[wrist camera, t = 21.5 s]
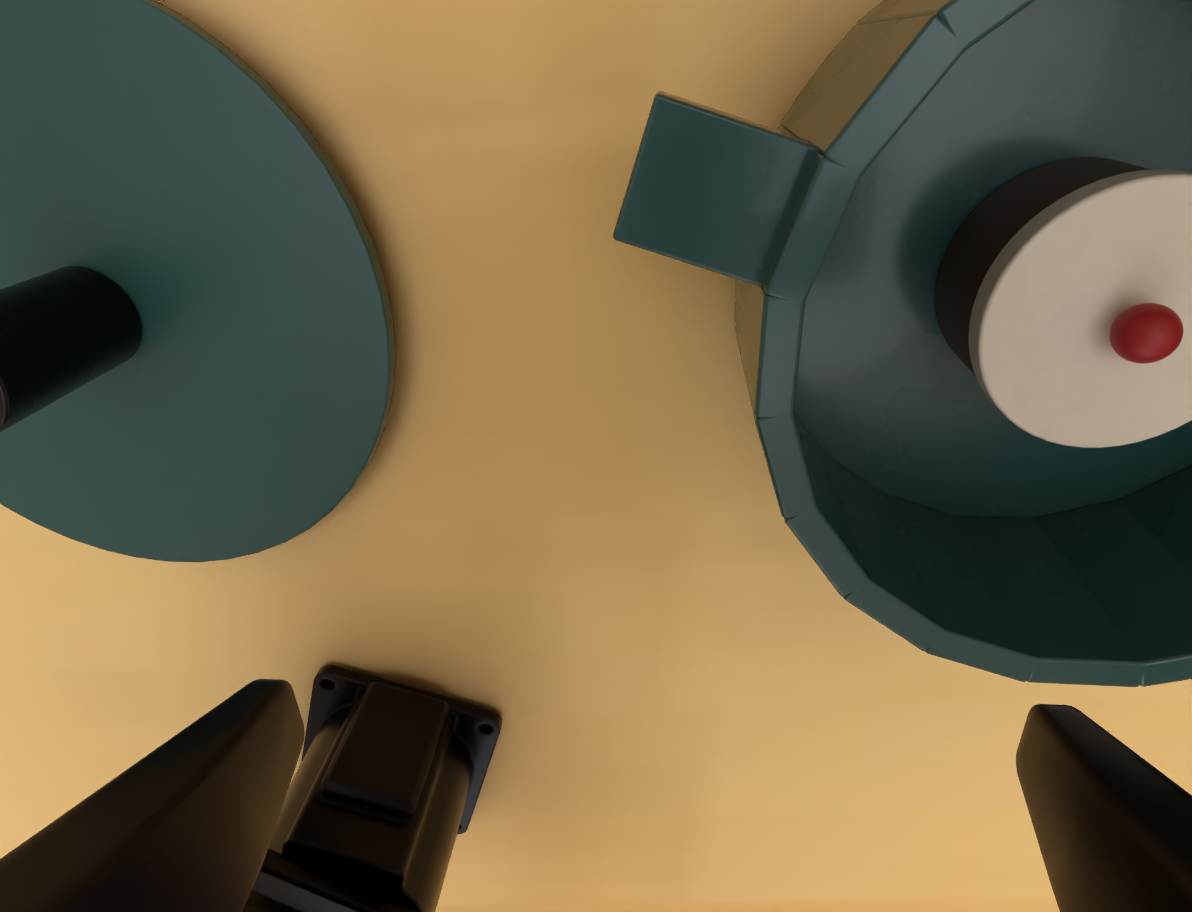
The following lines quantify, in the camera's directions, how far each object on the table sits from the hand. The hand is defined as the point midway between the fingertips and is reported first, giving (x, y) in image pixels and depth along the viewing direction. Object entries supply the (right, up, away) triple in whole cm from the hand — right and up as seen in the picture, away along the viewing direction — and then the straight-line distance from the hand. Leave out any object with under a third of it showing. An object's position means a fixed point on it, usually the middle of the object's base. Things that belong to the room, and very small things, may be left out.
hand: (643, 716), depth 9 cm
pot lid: (-13, +7, +10) cm, 18 cm away
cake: (+10, +7, +8) cm, 15 cm away
